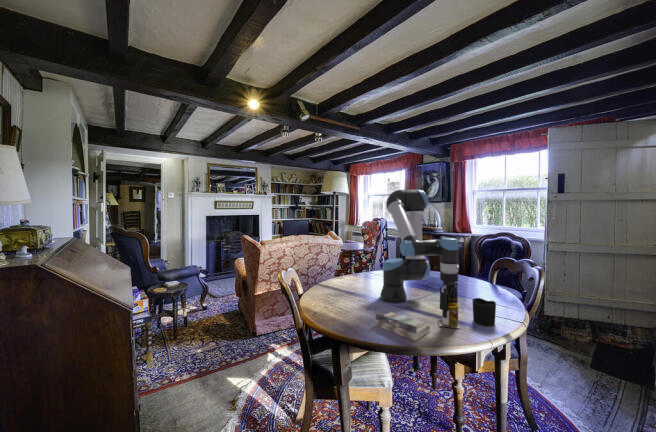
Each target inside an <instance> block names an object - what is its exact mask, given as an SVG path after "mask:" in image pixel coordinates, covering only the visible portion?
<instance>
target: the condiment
mask: <svg viewBox="0 0 656 432" xmlns="http://www.w3.org/2000/svg"><path fill="white" fill-rule="evenodd" d="M457 304H458V303H457V299H456V298H453V297H450V299H449V306H448V310H449V325H445V324H442V318H437V322H438V326H439V327H447V328H452V329H461V328H460V325H459V304H458V305H457Z"/></svg>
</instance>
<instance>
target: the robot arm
mask: <svg viewBox="0 0 656 432" xmlns="http://www.w3.org/2000/svg"><path fill="white" fill-rule="evenodd" d="M428 204H429V199H428V196H427V193H426V192H425V191H424V190H421V189H397V190H394V191H393V192H391V193H390V194H389V196H388V197H387V199H386V203H385V206H386V210H387V212H388V213H389V214H390V215H391V218H392V220H393V222H394V225H395V227H396V229H397V231H398V232H397V233H398V234H399V237H400V240H401V242H400V244H399V252H400V254H401V255H402V256H403V257H405V258H404V259H405V260H404V259H403V258H399V257H398V258H395V257H394V258H388V259H386V260H384V261H383V266H382V273H383V275H382V279H383V280H382V281H383V282H382V283H383V285H382V289H381V291H380V299H381V300H382V301H384V302H385V303H386V302H387V303H392V304H395V303H396V304H398V303H399V304H401V303H404V302H407V298H408V296H407V293H406V290H405V287H404V282H409V281H410V282H411V281H418V282H420V281H425V280H428V278H429V276H430V274H431V265H430V262H429V260H427V258H426V257H427V256H439V258H440V259H439V271H440V273H439V278H440V281H442V287H439V310H441V311H442V312H441V314H442V315H441V319H442V324H445V325H449V310H448V306H449V299H450V297H453V298H456V299H457V305H458V306H459V304H458V303H459V302H458V300H459V299H458V285H459V283H458V282H459V273H458V272H459V268H460V265H459V250H460V249H459V248H460V247H459V240H458V238H455V237H442V238H440V239H437V238H431V239H425V240H423V224H422V223H423V222H422V221H423V220H422V219H423V218H422V216H423V213H425V210H426V209H427V208H428Z"/></svg>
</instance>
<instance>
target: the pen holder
mask: <svg viewBox="0 0 656 432" xmlns="http://www.w3.org/2000/svg"><path fill="white" fill-rule="evenodd" d="M496 308H497V302H496V301H494V300H486V299H483V298H480V297H475V298H472V318H473V319H472V320H473V322H474V323H475V324H477V325H479V326H483V327H493V326H495V324H496V312H497V311H496V310H497V309H496Z"/></svg>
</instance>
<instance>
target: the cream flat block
mask: <svg viewBox="0 0 656 432" xmlns="http://www.w3.org/2000/svg"><path fill="white" fill-rule="evenodd" d="M430 325H431V324H430V323H429V324H428V323H425V322H422V321H419V319H414V318H413V317H408V316H405V315H402V314H398V313H395V312H392V311H390V312H388V313H385V314H381V313H379V312H376V313H375V326H376V327H379V328H382V329H384V330H386V331H388V332H392V333H394V334H397V335H399V336H400V337H401V336H402V337H404V338H407V339H409V340H412V341H415V342H416V341H417V340H419V339H421V338H422V337H424V336H425V335H427V334H428V333H429V332H430V329H431V328H430Z"/></svg>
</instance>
